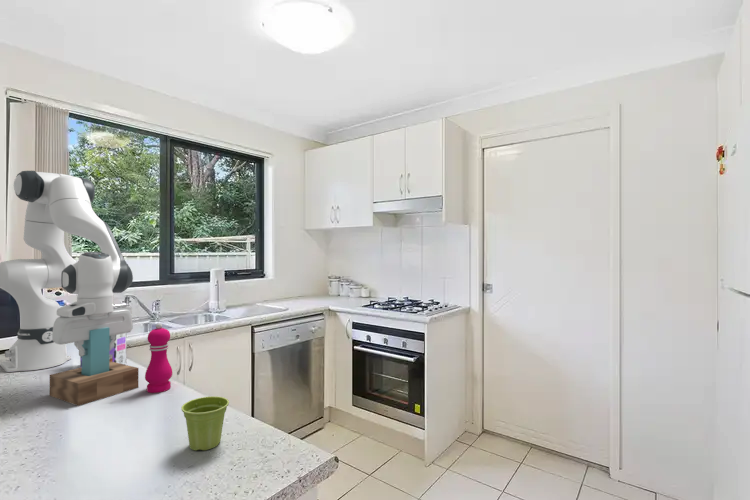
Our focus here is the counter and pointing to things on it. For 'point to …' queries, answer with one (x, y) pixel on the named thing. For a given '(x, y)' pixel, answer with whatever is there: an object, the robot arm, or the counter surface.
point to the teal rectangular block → (96, 352)
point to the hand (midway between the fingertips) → (95, 353)
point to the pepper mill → (158, 361)
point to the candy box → (116, 350)
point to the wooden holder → (93, 384)
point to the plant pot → (205, 421)
